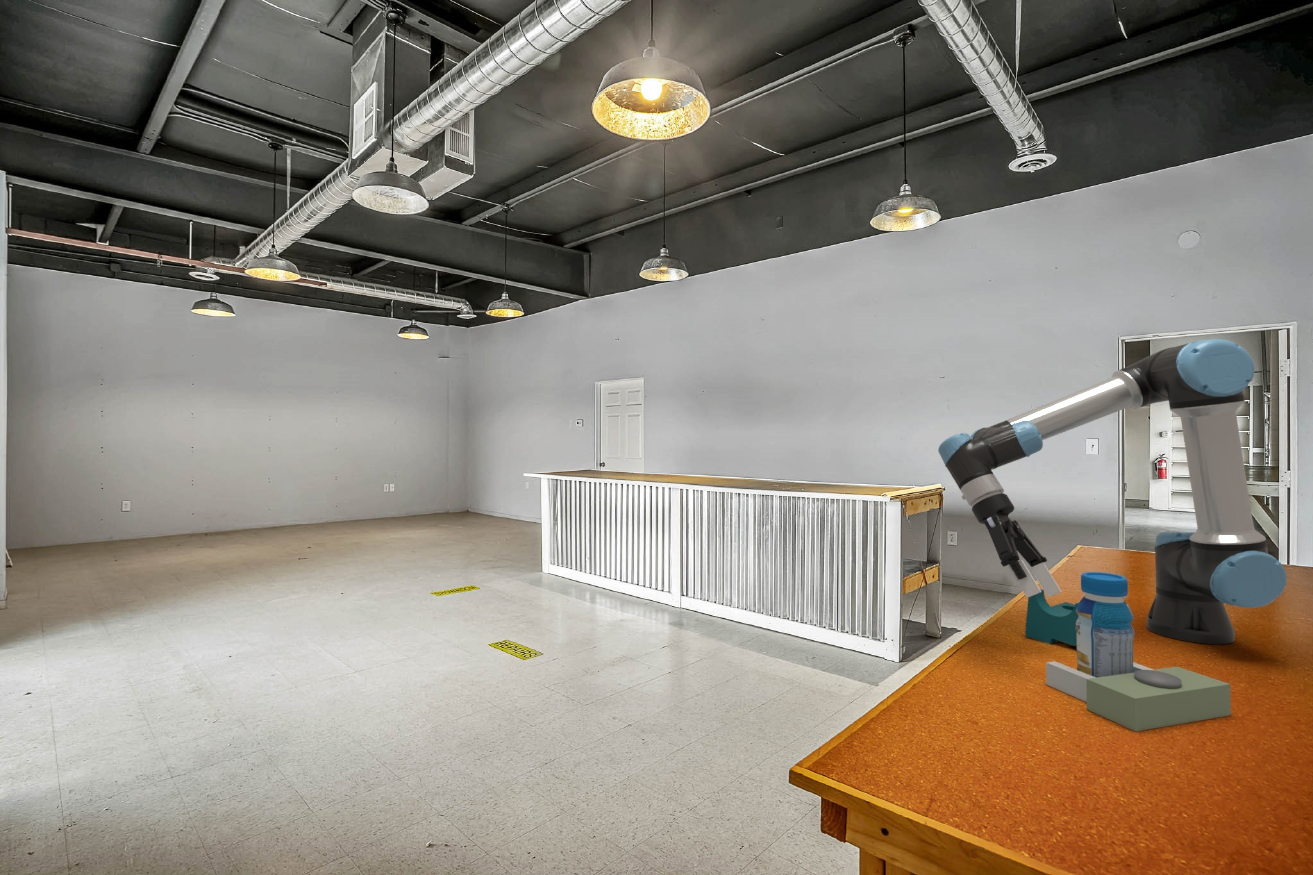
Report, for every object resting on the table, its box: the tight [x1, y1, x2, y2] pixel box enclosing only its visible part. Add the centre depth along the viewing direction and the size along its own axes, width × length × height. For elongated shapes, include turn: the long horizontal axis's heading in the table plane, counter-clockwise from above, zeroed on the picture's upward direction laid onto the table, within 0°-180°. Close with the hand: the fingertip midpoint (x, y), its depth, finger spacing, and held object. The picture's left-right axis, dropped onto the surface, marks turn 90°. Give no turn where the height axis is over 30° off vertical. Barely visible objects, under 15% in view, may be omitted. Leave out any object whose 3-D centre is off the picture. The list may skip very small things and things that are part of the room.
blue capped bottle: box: [1075, 571, 1135, 678], centre depth 109 cm, size 8×8×20 cm
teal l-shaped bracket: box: [1024, 588, 1080, 648], centre depth 138 cm, size 18×11×10 cm, turn 123°
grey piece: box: [1045, 661, 1232, 732], centre depth 105 cm, size 20×18×6 cm
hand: (1045, 595), depth 122 cm, fingers open, 13 cm apart
